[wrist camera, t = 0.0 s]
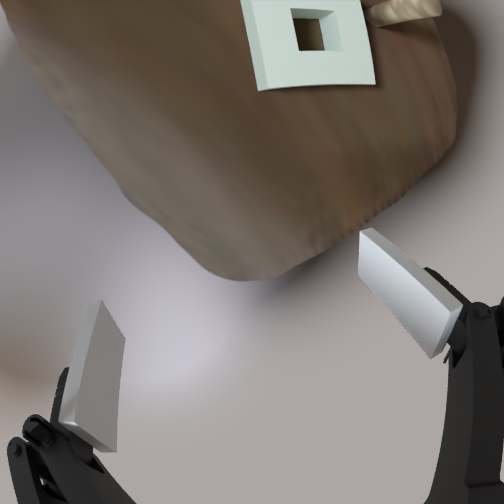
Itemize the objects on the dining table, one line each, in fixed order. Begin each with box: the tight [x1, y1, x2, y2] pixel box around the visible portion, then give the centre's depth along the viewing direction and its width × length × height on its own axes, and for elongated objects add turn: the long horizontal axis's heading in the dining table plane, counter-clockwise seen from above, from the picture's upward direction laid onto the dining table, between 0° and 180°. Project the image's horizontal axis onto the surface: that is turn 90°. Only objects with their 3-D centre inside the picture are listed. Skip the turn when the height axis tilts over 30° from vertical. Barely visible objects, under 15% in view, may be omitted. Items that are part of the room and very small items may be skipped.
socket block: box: [240, 0, 375, 91], centre depth 28 cm, size 16×16×5 cm
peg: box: [364, 0, 442, 27], centre depth 23 cm, size 4×4×14 cm
